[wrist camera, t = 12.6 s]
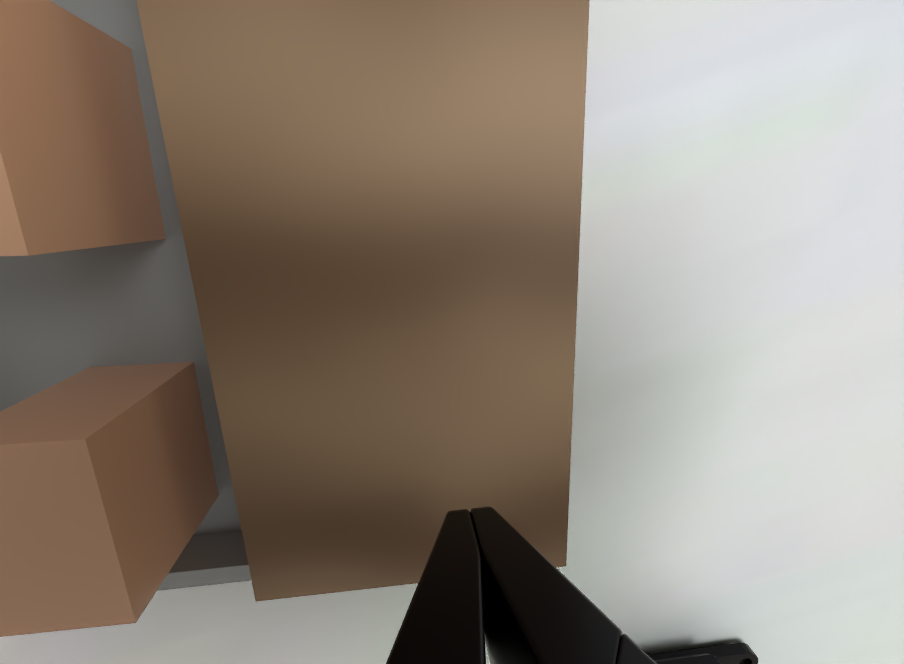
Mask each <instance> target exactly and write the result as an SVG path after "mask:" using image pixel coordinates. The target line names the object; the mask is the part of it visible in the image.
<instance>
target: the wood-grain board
mask: <svg viewBox="0 0 904 664" xmlns="http://www.w3.org/2000/svg"><path fill="white" fill-rule="evenodd" d="M136 1H137V6H138V11H139V16H140V21H141V26H142V31H143V36H144V41H145V46H146V51H147V56H148V62H149V67H150V72H151V77H152V82H153V87H154V92H155V97H156V102H157V107H158V112H159V117H160V122H161V127H162V132H163V137H164V142H165V147H166V152H167V157H168V162H169V167H170V172H171V177H172V182H173V187H174V192H175V197H176V202H177V207H178V212H179V217H180V223H181V228H182V233H183V238H184V243H185V248H186V253H187V258H188V263H189V268H190V273H191V278H192V283H193V288H194V293H195V298H196V303H197V308H198V313H199V318H200V323H201V328H202V333H203V338H204V343H205V348H206V353H207V358H208V363H209V368H210V373H211V378H212V384H213V389H214V394H215V399H216V404H217V409H218V414H219V419H220V424H221V429H222V434H223V439H224V444H225V449H226V454H227V459H228V464H229V469H230V474H231V479H232V484H233V489H234V494H235V499H236V504H237V509H238V514H239V519H240V524H241V529H242V534H243V539H244V545H245V550H246V555H247V560H248V565H249V570H250V575H251V580H252V585H253V590H254V595H255V600H256V601H263V600H272V599H281V598H290V597H299V596H307V595H316V594H325V593H334V592H343V591H351V590H360V589H369V588H378V587H387V586H395V585H404V584H413V583H419V581H420V578H421V576H422V573H423V571H424V568H425V566H426V563H427V561H428V558H429V556H430V553H431V551H432V548H433V546H434V543H435V541H436V538H437V536H438V534H439V531H440V529H441V526H442V524H443V521H444V519H445V516H446V514H447V512H448V511H451V510H460V509H468V510H469V511H471V509H472V508H478V507H487V506H490V507H493V508H494V509H495V510H496V511H497V512H498V513H499V514H500V515H501V516H502V517H503V518H504V519H505V520H506V521H507V522H508V523H510V524H511V525H512V526H513V527H514V528H515V529H516V530H517V531H518V532H519V533H520V534H521V535H522V536H523V537H524V538H525V539H526V540H527V541H528V542H529V543H530V544H532V545H533V546H534V547H535V548H536V549H537V550H538V551H539V552H540V553H541V554H542V555H543V556H544V557H545V558H546V559H547V560H548V561H549V562H550V563H551V564H552V565H553V566H555V567H563V566H566V554H567V530H568V505H569V481H570V457H571V433H572V408H573V384H574V360H575V335H576V311H577V287H578V263H579V238H580V214H581V190H582V166H583V141H584V117H585V93H586V68H587V44H588V20H589V0H136Z"/></svg>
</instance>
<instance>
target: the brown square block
mask: <svg viewBox="0 0 904 664" xmlns="http://www.w3.org/2000/svg"><path fill="white" fill-rule="evenodd" d="M218 496H219V493H218V488H217V483H216V477H215V472H214V467H213V462H212V456H211V451H210V446H209V441H208V435H207V430H206V425H205V420H204V414H203V409H202V404H201V399H200V393H199V388H198V383H197V378H196V372H195V367H194V362H178V363H159V364H139V365H120V366H100V367H89V368H87V369H85V370H83V371H81V372H79V373H77V374H75V375H73V376H71V377H69V378H67V379H65V380H63V381H61V382H59V383H57V384H55V385H53V386H51V387H49V388H47V389H45V390H43V391H41V392H39V393H37V394H35V395H33V396H31V397H29V398H27V399H25V400H23V401H21V402H19V403H17V404H15V405H13V406H11V407H9V408H7V409H5V410H3V411H1V412H0V637H2V636H12V635H22V634H31V633H41V632H51V631H61V630H70V629H80V628H90V627H100V626H109V625H119V624H129V623H136V622H137V620H138V618H139V617H140V615H141V614H142V612H143V611H144V609H145V608H146V606H147V605H148V603H149V602H150V600H151V599H152V597H153V595H154V594H155V592H156V591H157V589H158V588H159V586H160V585H161V583H162V582H163V580H164V579H165V577H166V576H167V574H168V573H169V571H170V569H171V568H172V566H173V565H174V563H175V562H176V560H177V559H178V557H179V556H180V554H181V553H182V551H183V550H184V548H185V546H186V545H187V543H188V542H189V540H190V539H191V537H192V536H193V534H194V533H195V531H196V530H197V528H198V527H199V525H200V524H201V522H202V520H203V519H204V517H205V516H206V514H207V513H208V511H209V510H210V508H211V507H212V505H213V504H214V502H215V501H216V499H217V497H218Z"/></svg>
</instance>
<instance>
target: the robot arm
mask: <svg viewBox="0 0 904 664" xmlns="http://www.w3.org/2000/svg"><path fill="white" fill-rule="evenodd" d="M485 641H486V646H487V650H488V654H489V659H490V662H491V664H758V657H757V656H756V655H755V653H754V652H753V651H752V649H751V648H750V647H749V646H748V645H747V644H745V643H735V644H728V645H720V646H713V647H705V648H698V649H690V650H683V651H675V652H668V653H661V654H653V655H647V654H646V653H645V652H644V651H643V650H642V649H641V648H640V647H639V646H637V645H636V644H635V643H634V642H633V641H632V640H631V639H630V638H629V637H628V636H627V635H626V634H623V635H622V631H621V630H620V629H619V628H618V627H617V626H616V625H615V624H614V623H613V622H612V621H611V620H610V619H609V618H608V617H607V616H606V615H605V614H604V613H603V612H602V611H601V610H600V609H598V608H597V607H596V606H595V605H594V604H593V603H592V602H591V601H590V600H589V599H588V598H587V597H586V596H585V595H584V594H583V593H582V592H581V591H580V590H579V589H578V588H576V587H575V586H574V585H573V584H572V583H571V582H570V581H569V580H568V579H567V578H566V577H565V576H564V575H563V574H562V573H561V572H560V571H559V570H558V569H557V568H556V567H555V566H553V565H552V564H551V563H550V562H549V561H548V560H547V559H546V558H545V557H544V556H543V555H542V554H541V553H540V552H539V551H538V550H537V549H536V548H535V547H534V546H533V545H532V544H530V543H529V542H528V541H527V540H526V539H525V538H524V537H523V536H522V535H521V534H520V533H519V532H518V531H517V530H516V529H515V528H514V527H513V526H512V525H511V524H510V523H508V522H507V521H506V520H505V519H504V518H503V517H502V516H501V515H500V514H499V513H498V512H497V511H496V510H495V509H494V508H493V507H490V506H487V507H478V508H472V509H471V511H469V510H468V509H460V510H451V511H448V512H447V514H446V516H445V519H444V521H443V524H442V526H441V529H440V531H439V534H438V536H437V538H436V541H435V543H434V546H433V548H432V551H431V553H430V556H429V558H428V561H427V563H426V566H425V568H424V571H423V573H422V576H421V578H420V581H419V583H418V586H417V588H416V591H415V593H414V595H413V598H412V600H411V603H410V605H409V608H408V610H407V613H406V615H405V618H404V620H403V623H402V625H401V628H400V630H399V633H398V635H397V638H396V640H395V643H394V645H393V648H392V650H391V652H390V655H389V657H388V660H387V662H386V664H486V654H485Z"/></svg>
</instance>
